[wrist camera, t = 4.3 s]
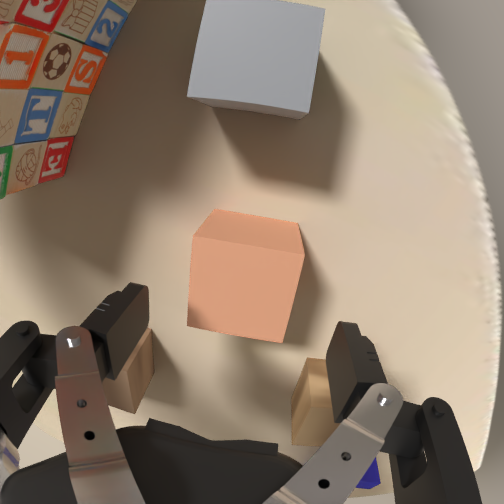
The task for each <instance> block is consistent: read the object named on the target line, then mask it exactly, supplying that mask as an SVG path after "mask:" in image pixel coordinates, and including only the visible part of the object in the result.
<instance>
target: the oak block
mask: <svg viewBox="0 0 504 504" xmlns="http://www.w3.org/2000/svg"><path fill="white" fill-rule="evenodd" d="M291 408H292V445H303V446H322V445H323V444H324V443H325V442H326V441H327V439H328V438H329V437H330V436H331V435H332V434H333V432H334V431H335V430H336V429H337V428H338V426H339V425H340V424H341V423H334V417H333V410H332V402H331V395H330V388H329V381H328V375H327V368H326V360H323V359H314V358H307V359H306V362H305V365H304V367H303V370H302V373H301V375H300V378H299V380H298V383H297V386H296V388H295V391H294V393H293V396H292V398H291Z"/></svg>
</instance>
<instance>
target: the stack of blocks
mask: <svg viewBox="0 0 504 504" xmlns="http://www.w3.org/2000/svg"><path fill="white" fill-rule="evenodd" d="M136 2H137V0H0V199H2V198H4V197H5V196H6V195H8V194H11V193H15V192H18V191H21V190H24V189H27V188H30V187H33V186H36V185H37V184H38V183H43V182H46V181H50V180H54V179H57V178H60V177H63V176H64V174H65V170H66V166H67V162H68V158H69V154H70V150H71V147H72V143H73V140H74V136H75V135H76V134H77V131H78V128H79V125H80V122H81V120H82V117H83V114H84V111H85V108H86V106H87V103H88V100H89V96H90V94H91V92H92V90H93V88H94V86H95V83H96V81H97V79H98V76H99V74H100V72H101V70H102V68H103V65H104V63H105V61H106V59H107V57H108V52H109V51H110V49H111V47H112V45H113V43H114V41H115V39H116V37H117V35H118V33H119V31H120V30H121V28H122V26H123V24H124V22H125V21H126V19H127V17H128V14H129V13H130V12H131V10H132V8H133V7H134V5H135V3H136Z"/></svg>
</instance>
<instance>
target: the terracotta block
mask: <svg viewBox="0 0 504 504" xmlns="http://www.w3.org/2000/svg"><path fill="white" fill-rule="evenodd" d="M304 257H305V253H304V248H303V244H302V239H301V235H300V230H299V226H298V223H294V222H288V221H283V220H277V219H271V218H266V217H260V216H254V215H248V214H242V213H236V212H230V211H224V210H218V209H214V210H213V212H212V213H211V214H210V215H209V217H208V218H207V219H206V220H205V221H204V223H203V224H202V225H201V226H200V228H199V229H198V230H197V231H196V233H195V234H194V235H193V242H192V254H191V267H190V282H189V298H188V317H187V326H190V327H194V328H199V329H204V330H209V331H214V332H219V333H225V334H230V335H236V336H241V337H247V338H253V339H259V340H265V341H272V342H278V343H282V342H283V339H284V335H285V331H286V328H287V324H288V320H289V316H290V313H291V309H292V305H293V301H294V297H295V293H296V290H297V286H298V282H299V278H300V273H301V269H302V265H303V261H304Z"/></svg>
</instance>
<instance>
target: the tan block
mask: <svg viewBox="0 0 504 504" xmlns="http://www.w3.org/2000/svg"><path fill="white" fill-rule="evenodd" d="M153 374H154V363H153V348H152V329H150V328H147V329H146V331H145V332H144V334H143V336H142V337H141V339H140V340H139V342H138V344H137V345H136V347H135V348H134V350H133V352H132V353H131V355H130V357H129V358H128V360H127V361H126V363H125V365H124V366H123V368H122V370H121V371H120V373H119V375H118V376H117V378H116V380H115V381H114V380H111V379H108V378H106V377H105V379H104V380H103V382H102V385H103V389H104V393H105V396H106V400H107V403H108V405H110V406H112V407H115V408H118V409H121V410H124V411H127V412H130V413H133V414H135V413H136V411H137V408H138V406H139V404H140V402H141V400H142V398H143V395H144V393H145V391H146V389H147V387H148V385H149V383H150V381H151V378H152V376H153Z"/></svg>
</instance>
